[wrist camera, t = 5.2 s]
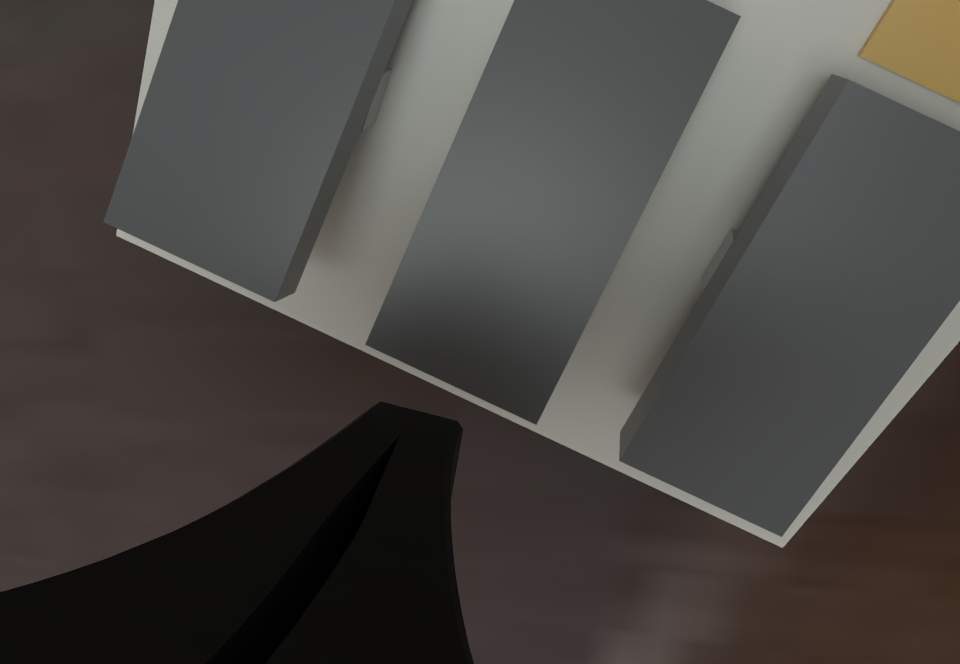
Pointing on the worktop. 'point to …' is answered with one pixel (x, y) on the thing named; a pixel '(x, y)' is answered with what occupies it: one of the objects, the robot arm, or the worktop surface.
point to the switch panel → (666, 218)
